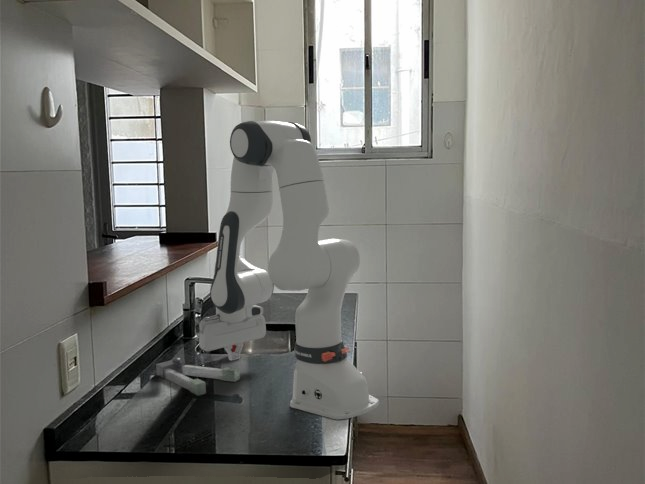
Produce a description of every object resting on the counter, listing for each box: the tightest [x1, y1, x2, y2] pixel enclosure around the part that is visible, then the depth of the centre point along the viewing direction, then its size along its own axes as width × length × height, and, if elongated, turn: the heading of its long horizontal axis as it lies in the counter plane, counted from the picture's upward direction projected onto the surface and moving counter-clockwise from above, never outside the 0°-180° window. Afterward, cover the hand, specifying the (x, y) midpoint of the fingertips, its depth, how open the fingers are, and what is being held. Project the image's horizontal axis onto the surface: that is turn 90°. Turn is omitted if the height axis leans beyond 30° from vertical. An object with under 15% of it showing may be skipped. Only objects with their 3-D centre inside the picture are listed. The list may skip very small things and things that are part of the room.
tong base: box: [155, 359, 207, 397], centre depth 176 cm, size 24×6×3 cm, turn 40°
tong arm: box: [171, 356, 241, 383], centre depth 179 cm, size 21×2×4 cm, turn 65°
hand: (234, 359), depth 183 cm, fingers closed
